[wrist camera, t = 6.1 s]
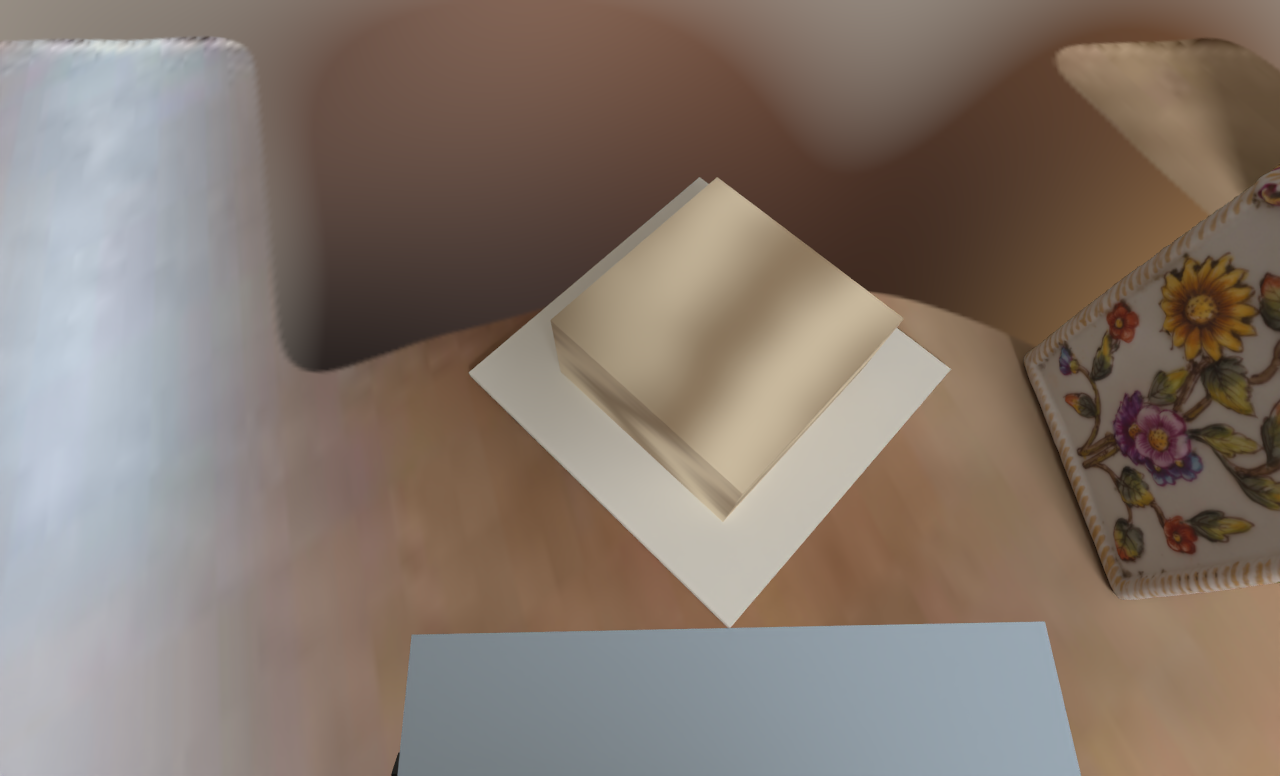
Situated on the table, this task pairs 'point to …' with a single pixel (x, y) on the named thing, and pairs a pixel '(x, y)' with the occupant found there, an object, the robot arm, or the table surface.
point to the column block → (738, 702)
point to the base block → (719, 343)
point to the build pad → (656, 501)
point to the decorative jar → (1178, 408)
